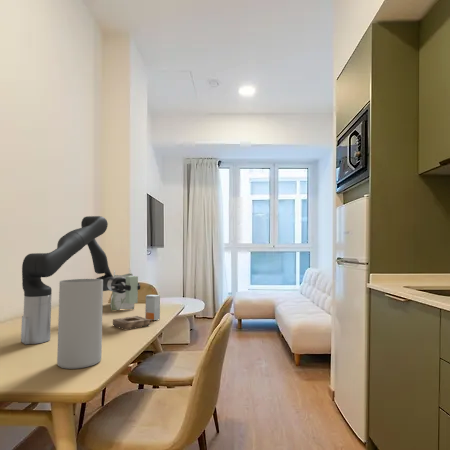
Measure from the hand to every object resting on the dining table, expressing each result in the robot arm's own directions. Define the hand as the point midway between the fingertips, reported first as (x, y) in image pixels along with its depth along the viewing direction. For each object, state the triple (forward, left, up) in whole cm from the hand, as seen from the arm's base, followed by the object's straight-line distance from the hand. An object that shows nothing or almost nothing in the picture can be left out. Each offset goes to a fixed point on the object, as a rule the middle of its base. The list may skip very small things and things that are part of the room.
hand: (134, 287), depth 157 cm
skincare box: (+14, +8, -17) cm, 24 cm away
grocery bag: (+22, +57, -18) cm, 64 cm away
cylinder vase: (-36, -34, -17) cm, 53 cm away
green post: (0, +3, -7) cm, 8 cm away
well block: (0, +3, -17) cm, 18 cm away
